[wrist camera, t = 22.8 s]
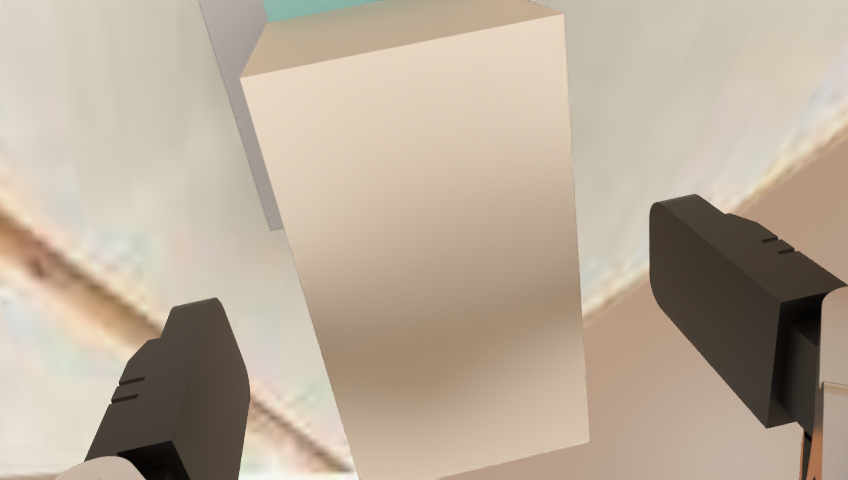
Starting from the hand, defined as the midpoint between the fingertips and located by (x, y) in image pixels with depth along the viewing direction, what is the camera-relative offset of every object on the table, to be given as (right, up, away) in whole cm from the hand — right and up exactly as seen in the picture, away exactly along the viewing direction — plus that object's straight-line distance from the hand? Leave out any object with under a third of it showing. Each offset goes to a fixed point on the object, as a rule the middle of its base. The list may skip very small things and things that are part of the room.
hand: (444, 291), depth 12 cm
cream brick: (-1, +3, +5) cm, 6 cm away
